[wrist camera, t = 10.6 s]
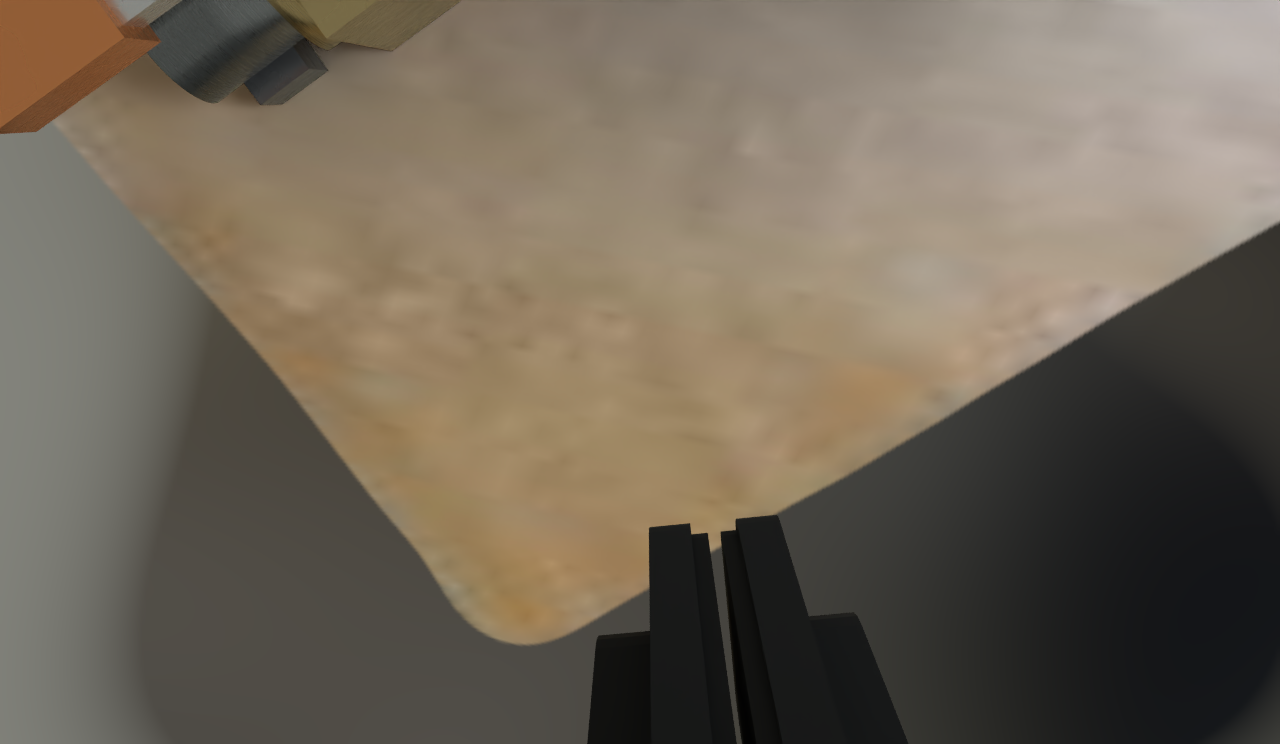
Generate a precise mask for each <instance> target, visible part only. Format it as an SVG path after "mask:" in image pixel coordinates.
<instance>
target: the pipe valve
mask: <svg viewBox="0 0 1280 744" xmlns="http://www.w3.org/2000/svg"><path fill="white" fill-rule="evenodd" d="M460 1H461V0H182V1H180V2H179V3H178V4H176V5H175V6H174V7H172V8H171V9H169V10H168V11H167V12H165V13H164V14H163V15H161V16H160V17H158V18H157V19H156V20H154V21H153V22H152V23H150V24H149V26H150V27H151V28H152V30H153V31H154V33H155V34H156V35H157V37H158V38H159V39H160V41H161V42H160V43H159V44H158V45H156V46H155V47H153V48H152V49H151V50H149V51H148V52H147V53H148V54H149V56H150V57H151V58H152V59H153V60H154V62H155V63H156V64H157V65H158V66H159V67H160V68H161V69H162V70H163V71H164V72H165V73H166V74H167V75H168V76H169V77H170V78H171V79H172V80H173V81H175V82H176V83H177V84H178V85H179V86H181V87H182V88H183V89H184V90H186V91H187V92H189V93H190V94H192V95H193V96H195V97H197V98H199V99H201V100H203V101H206V102H209V103H218V102H219V101H221V100H222V99H223V98H225V97H226V96H227V95H229V94H230V93H231V92H233V91H234V90H235V89H237V88H238V87H239V86H241V85H242V84H243V83H244V84H245V85H246V87H247V88H248V89H249V90H250V92H251V93H252V94H253V96H254V97H255V98H256V100H257V101H258V102H259V104H260V105H279V104H284V103H285V102H286V101H288V100H289V99H290V98H292V97H293V96H294V95H296V94H297V93H298V92H300V91H301V90H303V89H304V88H305V87H307V86H308V85H309V84H311V83H312V82H313V81H315V80H316V79H317V78H319V77H320V76H321V75H323V74H324V73H325V72H327V71H328V69H327V68H326V67H325V65H324V64H323V62H322V61H321V60H320V58H319V57H318V56H317V54H316V53H315V51H314V50H313V49H312V47H311V46H310V44H309V43H308V42H307V40H306V39H308V40H309V41H311V42H312V43H313V44H315V45H317V46H318V47H320V48H322V49H326V50H331V49H332V48H334V47H335V46H336V45H338V44H339V43H340V42H347V43H352V44H358V45H363V46H368V47H373V48H379V49H384V50H389V51H393V50H394V49H396V48H397V47H398V46H400V45H401V44H402V43H404V42H405V41H406V40H408V39H409V38H411V37H412V36H413V35H415V34H416V33H417V32H419V31H420V30H421V29H423V28H424V27H426V26H427V25H428V24H430V23H431V22H432V21H434V20H435V19H436V18H438V17H439V16H441V15H442V14H443V13H445V12H446V11H447V10H449V9H450V8H451V7H453V6H454V5H456V4H457V3H458V2H460ZM304 37H305V38H306V39H305V38H304Z"/></svg>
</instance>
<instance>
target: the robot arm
mask: <svg viewBox="0 0 1280 744" xmlns="http://www.w3.org/2000/svg"><path fill="white" fill-rule="evenodd" d="M721 543H722V554H723V564H724V576H725V586H726V597H727V607H728V619H729V629H730V640H731V650H732V662H733V672H734V684H735V694H736V703H737V711H738V719H739V726H740V733H741V739H742V744H908V742H907V739H906V736H905V734H904V732H903V729H902V726H901V724H900V721H899V719H898V716H897V714H896V711H895V709H894V706H893V704H892V701H891V698H890V696H889V693H888V691H887V688H886V686H885V683H884V681H883V678H882V676H881V673H880V671H879V668H878V666H877V663H876V660H875V658H874V655H873V653H872V650H871V648H870V645H869V643H868V640H867V638H866V635H865V632H864V630H863V627H862V625H861V623H860V621H859V619H858V617H857V615H856V614H854V613H841V614H831V615H820V616H810V617H809V616H808V613H807V609H806V606H805V603H804V599H803V597H802V593H801V590H800V586H799V583H798V580H797V576H796V573H795V570H794V566H793V563H792V560H791V557H790V553H789V550H788V547H787V543H786V540H785V537H784V533H783V530H782V527H781V524H780V520H779V518H778V516H777V515H771V516H760V517H750V518H740V519H736V530H732V531H722V532H721ZM649 582H650V631H645V632H634V633H624V634H613V635H601V636H598V638H597V642H596V649H595V661H594V672H593V685H592V696H591V709H590V720H589V731H588V743H587V744H737V743H736V736H735V728H734V721H733V714H732V707H731V699H730V692H729V685H728V677H727V670H726V663H725V656H724V648H723V641H722V634H721V627H720V620H719V612H718V605H717V598H716V590H715V583H714V576H713V569H712V561H711V554H710V547H709V540H708V533H702V534H691V528H690V523H689V524H679V525H668V526H658V527H650V528H649Z"/></svg>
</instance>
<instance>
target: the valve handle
mask: <svg viewBox="0 0 1280 744" xmlns="http://www.w3.org/2000/svg"><path fill="white" fill-rule="evenodd" d="M180 1H182V0H0V134H7V133H23V132H36V131H38V130H40V129H41V128H42V127H44V126H45V125H46V124H48V123H49V122H51V121H52V120H53V119H55V118H56V117H58V116H59V115H60V114H62V113H63V112H65V111H66V110H67V109H69V108H70V107H72V106H73V105H74V104H76V103H77V102H78V101H80V100H81V99H83V98H84V97H85V96H87V95H88V94H90V93H91V92H92V91H94V90H95V89H97V88H98V87H99V86H101V85H102V84H103V83H105V82H106V81H108V80H109V79H110V78H112V77H113V76H115V75H116V74H117V73H119V72H120V71H122V70H123V69H124V68H126V67H127V66H128V65H130V64H131V63H133V62H134V61H135V60H137V59H138V58H140V57H141V56H142V55H144V54H145V53H147V52H148V51H149V50H151V49H152V48H153V47H155V46H156V45H158V44H159V43H160V42H161V41H160V39H159V38H158V37H157V35H156V34H155V33H154V31H153V30H152V28H151V27H150V26H149V24H150V23H152V22H153V21H154V20H156V19H157V18H158V17H160V16H161V15H163V14H164V13H165V12H167V11H168V10H169V9H171V8H172V7H174V6H175V5H176V4H178V3H179V2H180Z"/></svg>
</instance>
